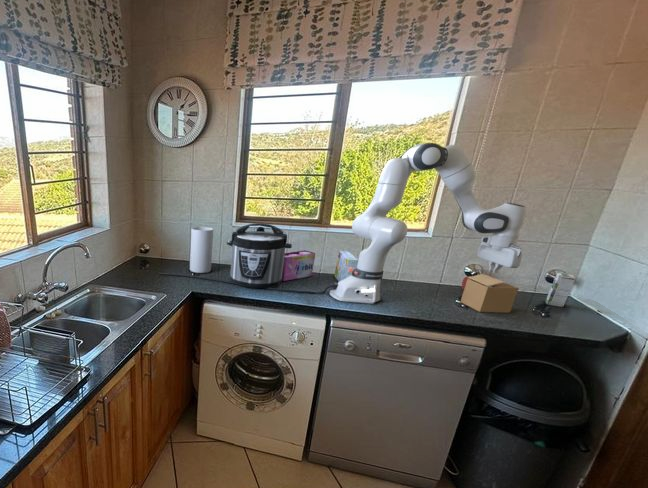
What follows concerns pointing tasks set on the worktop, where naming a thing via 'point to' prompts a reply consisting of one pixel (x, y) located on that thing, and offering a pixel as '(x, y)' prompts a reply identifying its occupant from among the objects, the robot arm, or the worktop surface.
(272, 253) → the pressure cooker
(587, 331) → the worktop surface
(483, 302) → the open cardboard box
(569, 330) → the worktop surface
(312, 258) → the gum box
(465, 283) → the vegetable
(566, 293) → the syrup box
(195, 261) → the cylinder vase
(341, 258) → the snack box
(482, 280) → the flap
